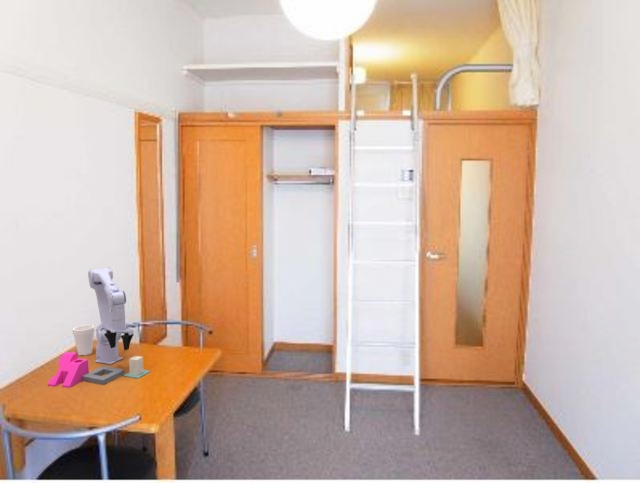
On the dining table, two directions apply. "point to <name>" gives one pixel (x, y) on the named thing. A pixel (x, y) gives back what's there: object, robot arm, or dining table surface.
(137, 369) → the block
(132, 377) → the pad
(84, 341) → the foam cup
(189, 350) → the dining table surface
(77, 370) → the bracket
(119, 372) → the pocket board
